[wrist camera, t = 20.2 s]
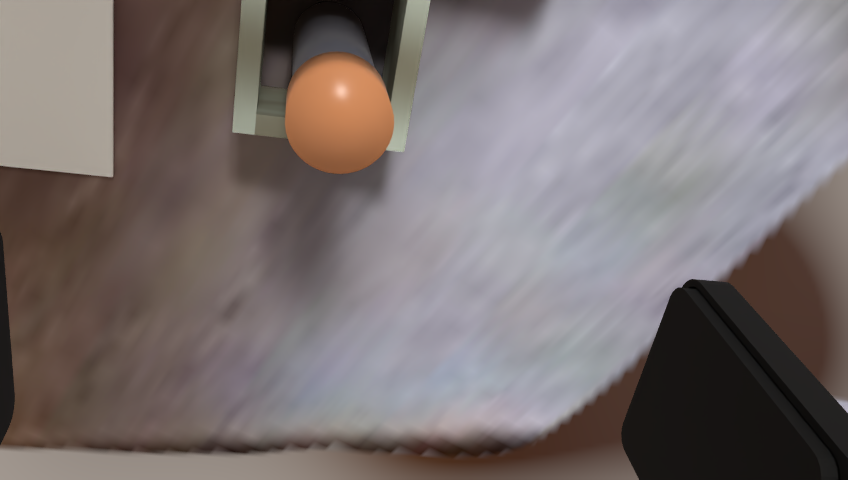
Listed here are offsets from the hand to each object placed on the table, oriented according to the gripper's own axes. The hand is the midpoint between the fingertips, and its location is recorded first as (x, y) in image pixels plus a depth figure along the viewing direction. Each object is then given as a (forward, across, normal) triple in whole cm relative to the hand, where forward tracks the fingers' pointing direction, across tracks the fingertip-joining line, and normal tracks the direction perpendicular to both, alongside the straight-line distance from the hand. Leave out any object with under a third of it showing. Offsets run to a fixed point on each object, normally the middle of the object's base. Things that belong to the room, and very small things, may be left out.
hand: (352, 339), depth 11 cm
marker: (+22, 0, +1) cm, 22 cm away
